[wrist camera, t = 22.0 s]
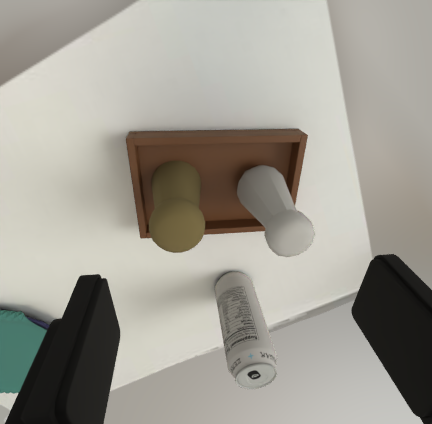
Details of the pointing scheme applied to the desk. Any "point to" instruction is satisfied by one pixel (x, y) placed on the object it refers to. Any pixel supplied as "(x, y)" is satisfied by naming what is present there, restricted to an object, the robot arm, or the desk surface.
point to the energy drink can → (244, 332)
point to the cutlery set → (18, 348)
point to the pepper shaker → (176, 207)
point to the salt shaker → (275, 211)
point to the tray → (214, 169)
